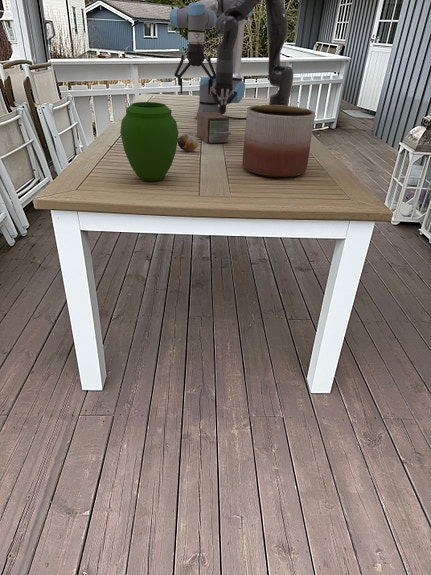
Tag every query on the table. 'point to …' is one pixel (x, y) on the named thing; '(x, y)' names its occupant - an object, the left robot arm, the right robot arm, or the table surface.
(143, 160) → the vase
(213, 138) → the drawer
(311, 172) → the table surface
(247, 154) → the planter
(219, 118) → the long brown box
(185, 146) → the seashell
